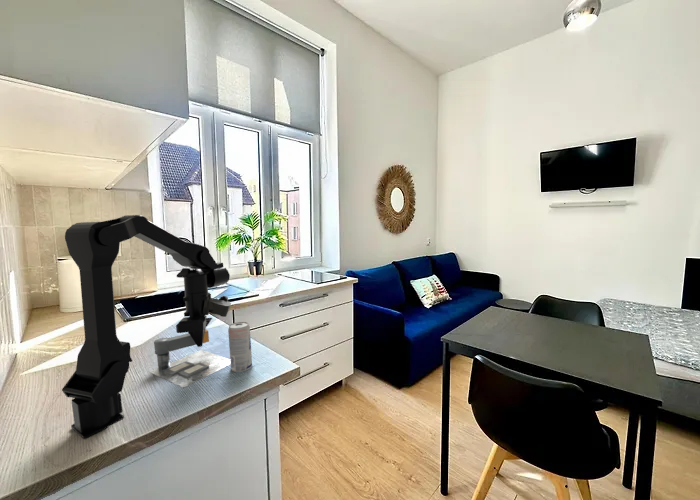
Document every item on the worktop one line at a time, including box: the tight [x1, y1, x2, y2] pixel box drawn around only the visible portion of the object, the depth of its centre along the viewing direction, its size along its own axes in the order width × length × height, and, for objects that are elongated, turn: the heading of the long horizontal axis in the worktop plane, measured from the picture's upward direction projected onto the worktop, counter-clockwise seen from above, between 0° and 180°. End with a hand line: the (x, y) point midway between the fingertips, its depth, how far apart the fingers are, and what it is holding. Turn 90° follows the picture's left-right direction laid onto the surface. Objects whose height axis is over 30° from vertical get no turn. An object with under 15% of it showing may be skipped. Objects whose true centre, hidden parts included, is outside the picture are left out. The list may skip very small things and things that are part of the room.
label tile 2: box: [164, 361, 195, 376], centre depth 81 cm, size 6×4×1 cm, turn 149°
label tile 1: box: [178, 363, 209, 378], centre depth 80 cm, size 6×4×1 cm, turn 149°
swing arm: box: [153, 328, 210, 356], centre depth 85 cm, size 13×4×3 cm, turn 130°
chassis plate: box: [148, 349, 231, 389], centre depth 82 cm, size 15×16×4 cm
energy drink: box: [227, 321, 253, 373], centre depth 81 cm, size 5×5×12 cm
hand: (200, 346), depth 85 cm, fingers closed
